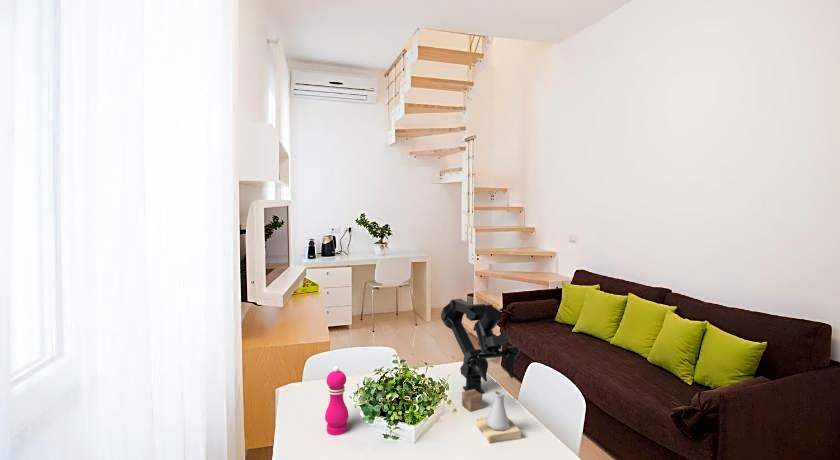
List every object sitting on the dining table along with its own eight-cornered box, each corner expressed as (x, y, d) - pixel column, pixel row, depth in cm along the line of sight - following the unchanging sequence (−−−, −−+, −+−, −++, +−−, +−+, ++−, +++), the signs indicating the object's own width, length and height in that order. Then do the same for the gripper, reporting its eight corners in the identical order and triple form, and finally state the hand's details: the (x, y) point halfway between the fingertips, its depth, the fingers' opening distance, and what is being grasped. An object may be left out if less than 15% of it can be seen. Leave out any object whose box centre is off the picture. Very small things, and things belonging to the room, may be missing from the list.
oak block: (476, 428, 129) (476, 418, 129) (505, 424, 131) (505, 414, 131) (489, 445, 119) (489, 435, 119) (520, 440, 122) (520, 431, 122)
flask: (513, 430, 122) (515, 397, 122) (491, 432, 121) (492, 399, 120) (504, 418, 129) (505, 387, 129) (482, 419, 128) (484, 388, 127)
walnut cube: (462, 406, 142) (462, 392, 142) (473, 402, 145) (473, 389, 145) (470, 412, 138) (470, 397, 138) (482, 408, 140) (482, 394, 140)
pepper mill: (325, 437, 123) (324, 372, 122) (324, 425, 130) (323, 363, 129) (349, 434, 125) (349, 369, 124) (347, 422, 131) (346, 361, 131)
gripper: (466, 326, 135) (479, 372, 125) (517, 322, 140) (534, 366, 130) (458, 342, 143) (470, 386, 133) (507, 338, 148) (521, 380, 138)
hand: (499, 379), depth 134 cm, fingers open, 9 cm apart
